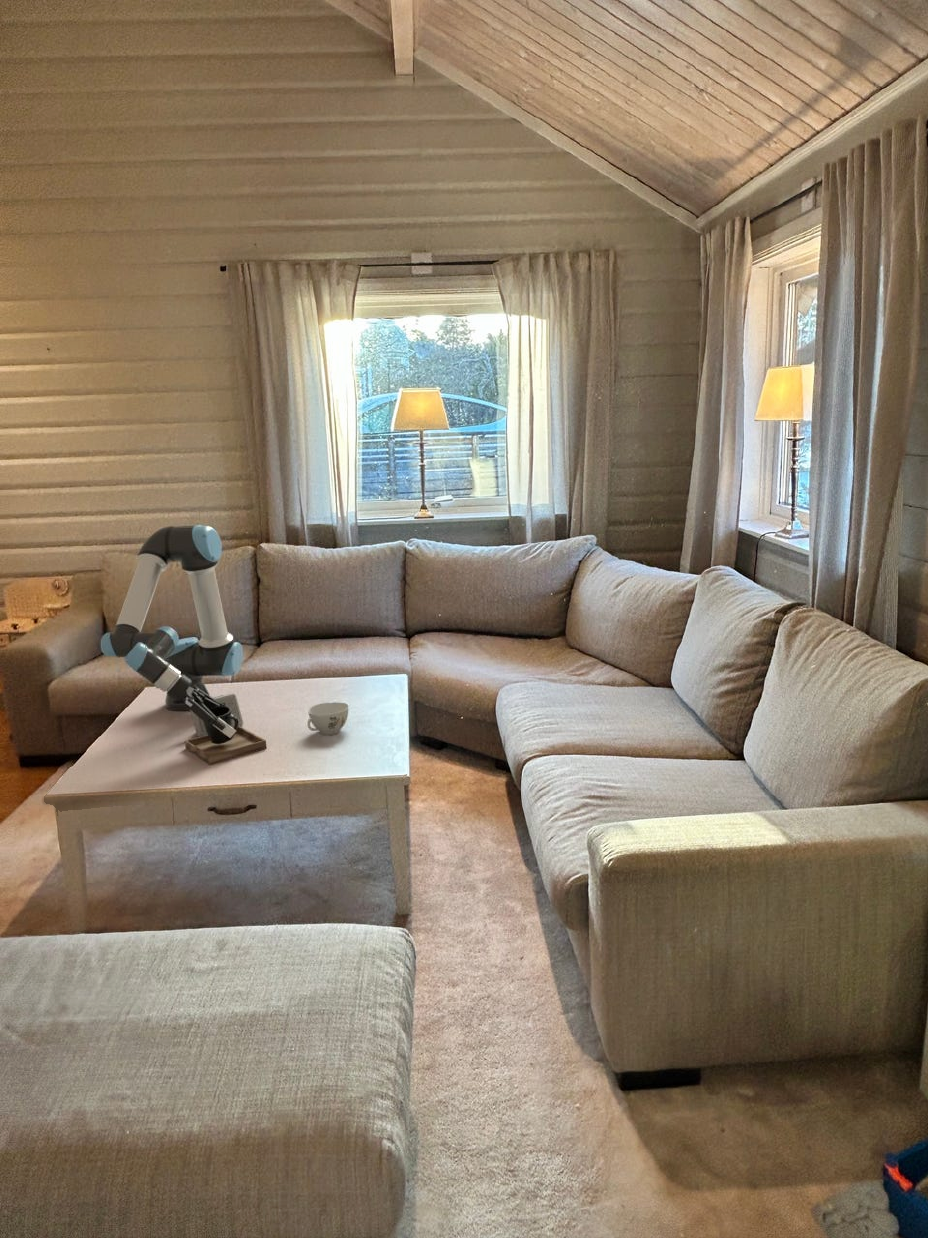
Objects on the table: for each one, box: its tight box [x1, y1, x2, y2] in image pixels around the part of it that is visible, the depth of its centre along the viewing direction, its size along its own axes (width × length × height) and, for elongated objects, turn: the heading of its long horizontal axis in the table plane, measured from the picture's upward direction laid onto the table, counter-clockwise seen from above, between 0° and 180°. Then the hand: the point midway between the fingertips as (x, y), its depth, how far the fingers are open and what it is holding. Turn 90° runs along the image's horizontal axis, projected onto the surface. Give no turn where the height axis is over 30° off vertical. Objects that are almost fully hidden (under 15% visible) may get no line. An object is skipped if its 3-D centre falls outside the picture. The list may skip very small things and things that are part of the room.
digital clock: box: [189, 692, 244, 738], centre depth 285 cm, size 16×9×11 cm, turn 120°
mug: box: [204, 706, 239, 744], centre depth 267 cm, size 8×12×10 cm
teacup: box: [307, 701, 349, 736], centre depth 278 cm, size 15×12×8 cm
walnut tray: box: [184, 725, 267, 766], centre depth 269 cm, size 18×18×2 cm
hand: (234, 728), depth 269 cm, fingers closed on mug, 9 cm apart
